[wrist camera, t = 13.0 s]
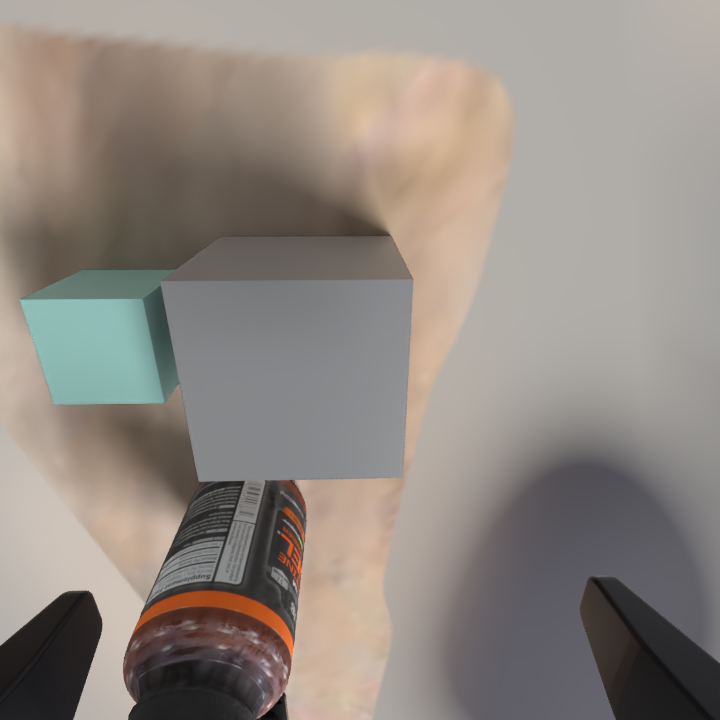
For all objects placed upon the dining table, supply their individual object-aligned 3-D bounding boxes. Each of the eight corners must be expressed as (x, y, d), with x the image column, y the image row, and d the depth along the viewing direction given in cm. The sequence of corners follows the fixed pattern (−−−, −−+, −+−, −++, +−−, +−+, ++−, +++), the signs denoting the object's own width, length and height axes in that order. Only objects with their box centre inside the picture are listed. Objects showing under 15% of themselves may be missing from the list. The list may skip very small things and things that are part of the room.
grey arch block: (386, 385, 21) (402, 477, 15) (239, 387, 21) (198, 481, 15) (391, 235, 18) (413, 279, 12) (220, 236, 18) (160, 281, 12)
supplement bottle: (320, 535, 25) (303, 804, 15) (217, 553, 25) (131, 828, 15) (290, 448, 23) (245, 700, 12) (176, 470, 23) (40, 733, 13)
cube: (196, 357, 20) (164, 403, 17) (106, 358, 20) (53, 404, 17) (181, 269, 19) (142, 298, 15) (83, 269, 19) (19, 299, 15)
